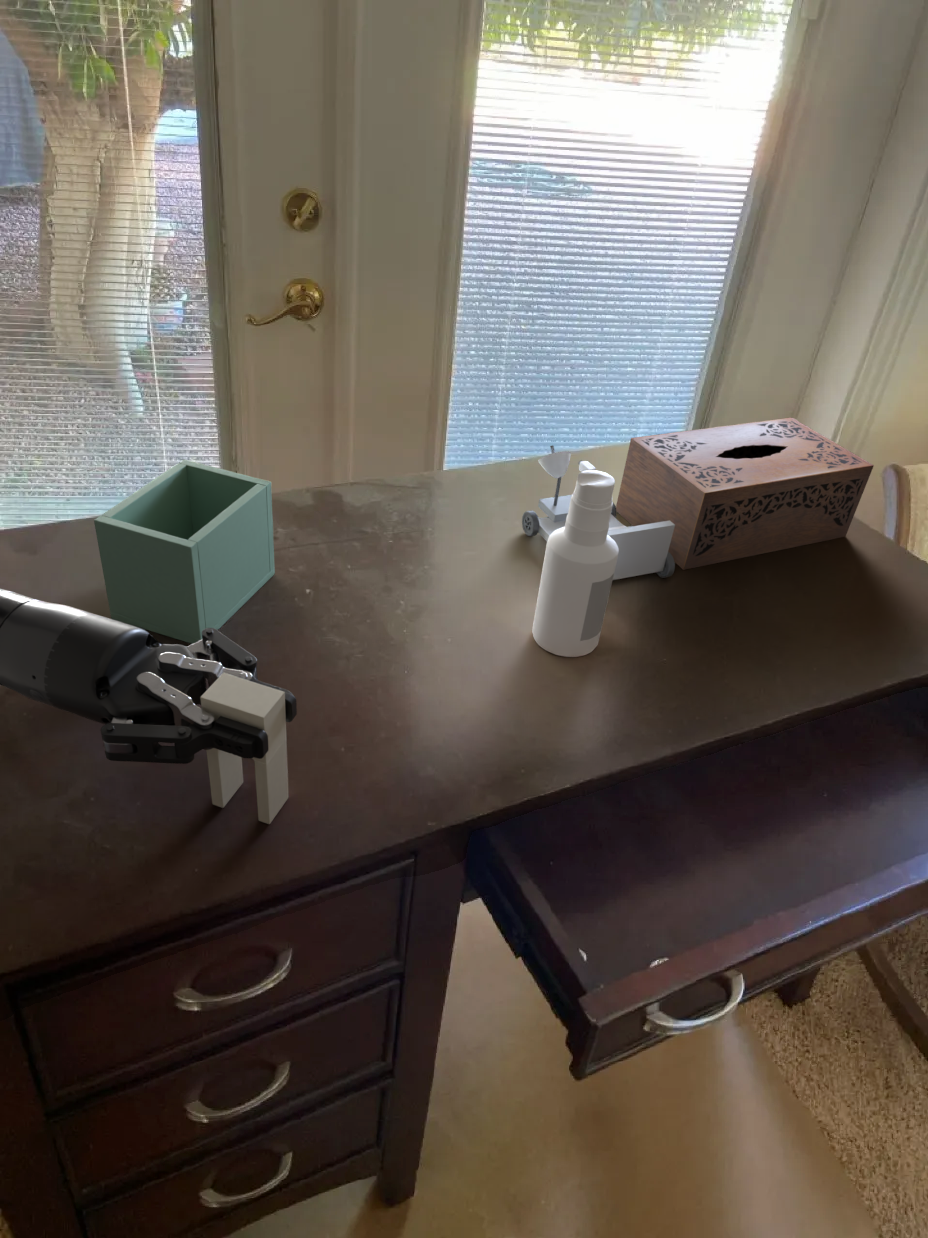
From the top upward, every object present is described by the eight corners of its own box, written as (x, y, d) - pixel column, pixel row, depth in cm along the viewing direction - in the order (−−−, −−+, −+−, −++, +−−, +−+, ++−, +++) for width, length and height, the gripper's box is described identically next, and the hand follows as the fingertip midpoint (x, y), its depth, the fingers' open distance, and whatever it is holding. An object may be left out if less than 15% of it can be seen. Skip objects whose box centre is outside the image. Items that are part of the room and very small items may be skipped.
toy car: (520, 444, 103) (605, 434, 108) (510, 517, 109) (591, 506, 113) (600, 519, 90) (692, 505, 95) (584, 598, 96) (671, 581, 100)
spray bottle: (608, 655, 88) (646, 495, 78) (543, 661, 87) (573, 498, 76) (584, 615, 94) (617, 460, 83) (523, 620, 92) (548, 462, 81)
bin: (201, 647, 84) (190, 547, 77) (110, 618, 86) (93, 519, 79) (275, 574, 95) (271, 481, 88) (193, 550, 97) (183, 458, 90)
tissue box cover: (769, 484, 123) (791, 417, 117) (845, 536, 113) (873, 465, 107) (615, 510, 113) (631, 437, 107) (683, 569, 103) (705, 493, 97)
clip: (288, 797, 70) (285, 691, 63) (269, 825, 67) (263, 717, 61) (232, 778, 71) (223, 672, 64) (212, 804, 68) (199, 697, 62)
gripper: (-5, 677, 59) (223, 754, 55) (128, 573, 70) (325, 631, 66) (18, 757, 64) (230, 833, 60) (140, 647, 75) (325, 706, 71)
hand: (279, 726), depth 63 cm, fingers open, 3 cm apart
